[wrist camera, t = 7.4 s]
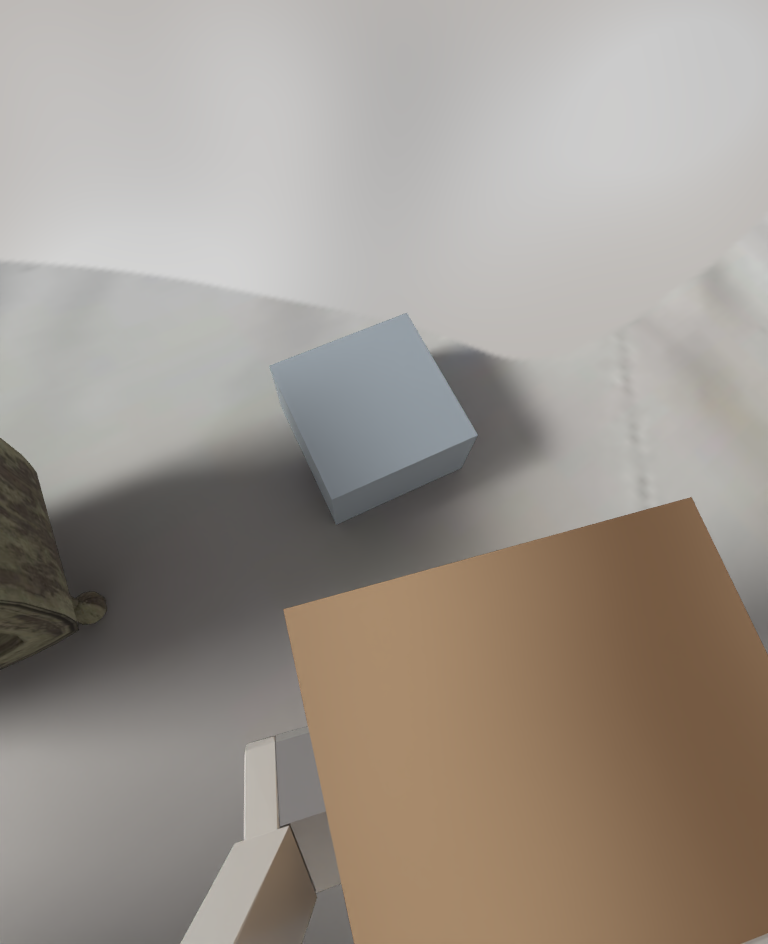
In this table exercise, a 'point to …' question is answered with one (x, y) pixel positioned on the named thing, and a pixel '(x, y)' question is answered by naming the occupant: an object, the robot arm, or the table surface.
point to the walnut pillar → (546, 742)
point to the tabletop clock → (33, 569)
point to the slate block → (373, 416)
